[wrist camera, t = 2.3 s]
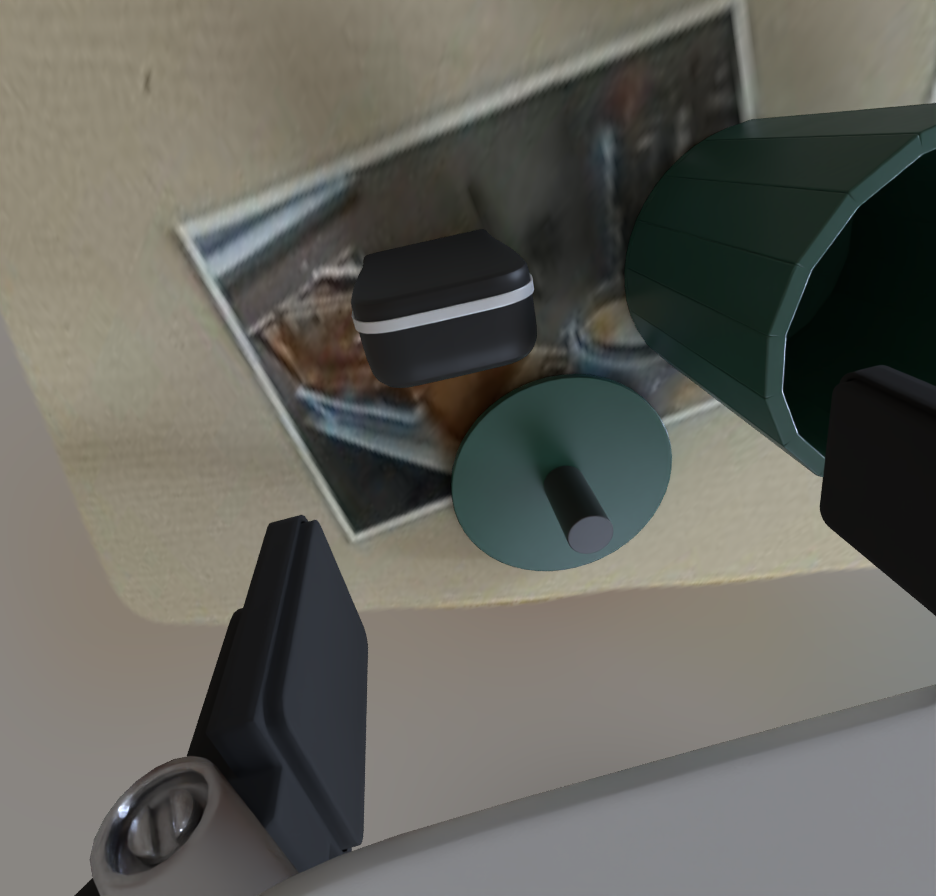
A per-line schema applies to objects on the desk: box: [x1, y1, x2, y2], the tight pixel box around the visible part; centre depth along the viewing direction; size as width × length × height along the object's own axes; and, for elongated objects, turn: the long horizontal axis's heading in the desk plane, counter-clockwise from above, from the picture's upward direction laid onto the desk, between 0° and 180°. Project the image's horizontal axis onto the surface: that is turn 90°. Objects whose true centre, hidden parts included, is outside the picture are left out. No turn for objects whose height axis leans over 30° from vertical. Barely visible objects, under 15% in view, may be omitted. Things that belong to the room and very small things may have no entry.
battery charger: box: [351, 229, 537, 388], centre depth 25 cm, size 7×4×11 cm, turn 101°
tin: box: [625, 103, 936, 477], centre depth 26 cm, size 13×14×14 cm
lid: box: [451, 374, 672, 571], centre depth 34 cm, size 14×14×7 cm
